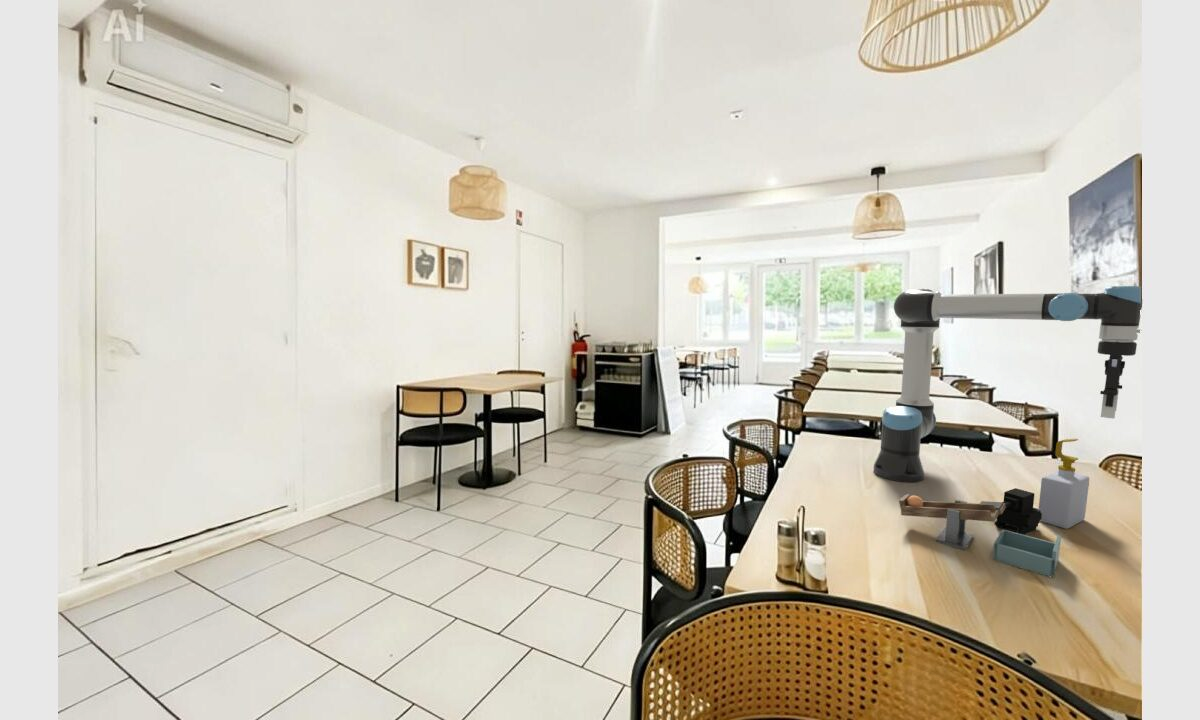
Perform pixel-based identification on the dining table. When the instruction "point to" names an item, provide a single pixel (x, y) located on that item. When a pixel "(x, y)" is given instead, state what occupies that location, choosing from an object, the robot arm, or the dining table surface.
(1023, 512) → the toy
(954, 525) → the stand
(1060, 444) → the soap bottle
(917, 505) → the ball
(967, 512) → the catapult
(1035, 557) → the tray
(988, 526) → the dining table surface
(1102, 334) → the robot arm
